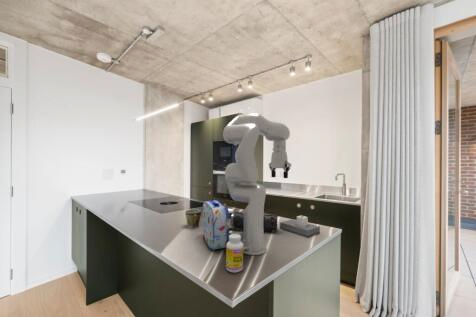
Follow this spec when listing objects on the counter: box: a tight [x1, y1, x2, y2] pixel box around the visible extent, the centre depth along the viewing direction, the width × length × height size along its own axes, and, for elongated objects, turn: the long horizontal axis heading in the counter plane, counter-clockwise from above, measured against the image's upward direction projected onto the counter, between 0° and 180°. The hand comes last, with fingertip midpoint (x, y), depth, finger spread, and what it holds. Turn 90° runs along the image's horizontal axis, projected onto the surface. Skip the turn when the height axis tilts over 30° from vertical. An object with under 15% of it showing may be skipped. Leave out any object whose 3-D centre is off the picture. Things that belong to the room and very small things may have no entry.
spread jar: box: [228, 208, 235, 231], centre depth 136 cm, size 12×11×12 cm
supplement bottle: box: [225, 233, 244, 273], centre depth 84 cm, size 7×7×13 cm
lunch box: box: [201, 199, 232, 251], centre depth 110 cm, size 28×10×22 cm, turn 21°
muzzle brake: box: [230, 211, 278, 232], centre depth 131 cm, size 10×28×10 cm, turn 79°
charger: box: [296, 215, 309, 227], centre depth 129 cm, size 5×5×8 cm
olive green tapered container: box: [184, 208, 202, 229], centre depth 136 cm, size 13×10×10 cm
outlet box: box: [279, 218, 321, 238], centre depth 130 cm, size 12×20×4 cm, turn 38°
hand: (279, 177), depth 132 cm, fingers open, 9 cm apart
